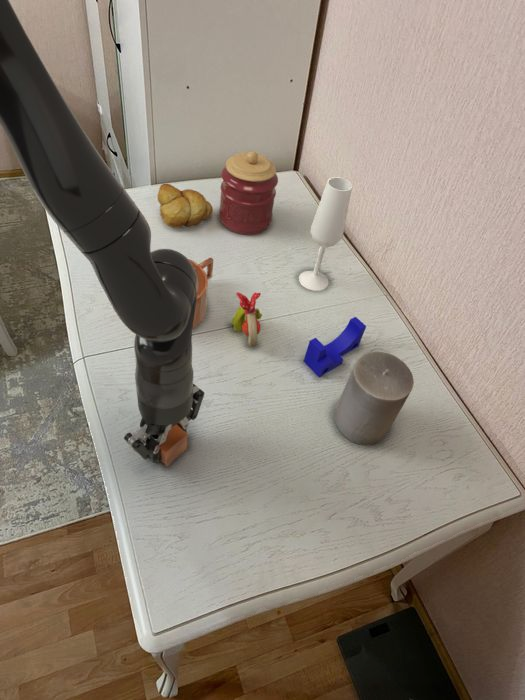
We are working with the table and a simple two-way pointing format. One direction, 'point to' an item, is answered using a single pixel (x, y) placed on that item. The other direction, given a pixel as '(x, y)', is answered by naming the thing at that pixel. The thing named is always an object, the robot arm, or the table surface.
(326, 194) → the champagne flute
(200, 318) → the measuring cup
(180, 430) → the orange block
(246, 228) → the kitchen canister
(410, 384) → the pillar candle
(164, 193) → the bread roll
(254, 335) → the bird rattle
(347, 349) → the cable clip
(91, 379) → the table surface
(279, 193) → the table surface
